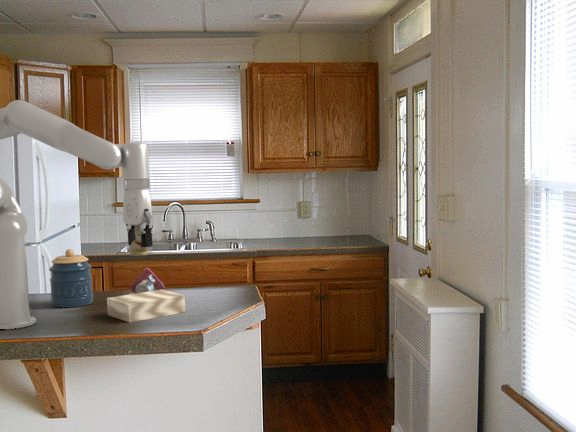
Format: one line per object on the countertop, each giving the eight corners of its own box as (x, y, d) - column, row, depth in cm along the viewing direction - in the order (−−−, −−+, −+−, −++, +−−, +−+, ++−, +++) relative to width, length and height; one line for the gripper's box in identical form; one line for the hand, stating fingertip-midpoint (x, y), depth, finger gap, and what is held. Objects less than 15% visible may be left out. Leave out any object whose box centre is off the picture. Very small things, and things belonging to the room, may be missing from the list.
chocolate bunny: (128, 256, 208) (127, 222, 207) (130, 253, 216) (128, 219, 215) (148, 255, 209) (146, 221, 208) (149, 252, 217) (147, 218, 216)
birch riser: (129, 322, 203) (128, 304, 203) (107, 314, 214) (106, 298, 214) (185, 312, 214) (184, 295, 214) (162, 305, 225) (161, 289, 225)
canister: (67, 310, 223) (64, 252, 222) (42, 305, 231) (39, 250, 230) (102, 302, 233) (99, 247, 232) (76, 298, 241) (73, 245, 240)
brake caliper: (172, 291, 236) (162, 265, 228) (163, 317, 228) (152, 291, 220) (139, 290, 238) (128, 265, 230) (129, 316, 230) (118, 291, 223)
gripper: (111, 186, 215) (115, 245, 216) (138, 186, 201) (142, 249, 203) (135, 184, 220) (138, 242, 221) (162, 185, 206) (166, 246, 207)
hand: (140, 245), depth 212 cm, fingers closed on chocolate bunny, 7 cm apart
